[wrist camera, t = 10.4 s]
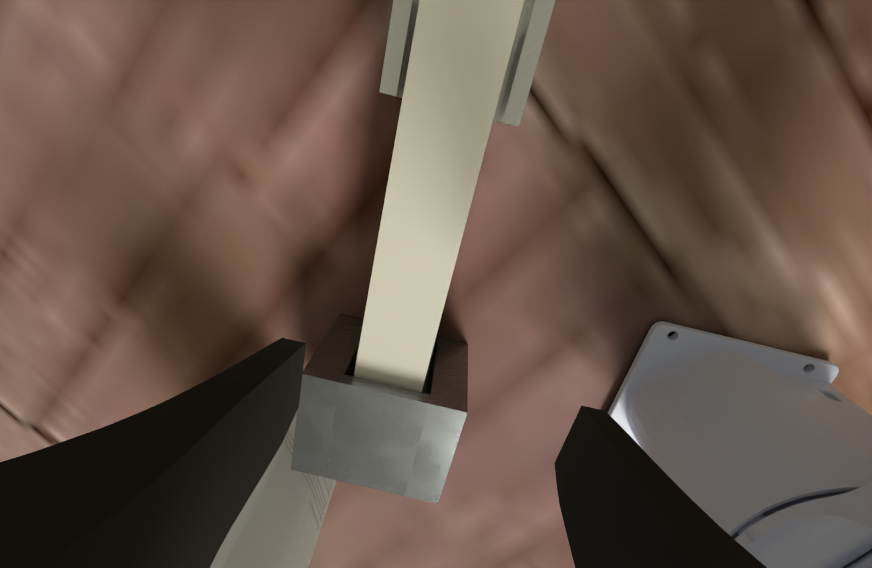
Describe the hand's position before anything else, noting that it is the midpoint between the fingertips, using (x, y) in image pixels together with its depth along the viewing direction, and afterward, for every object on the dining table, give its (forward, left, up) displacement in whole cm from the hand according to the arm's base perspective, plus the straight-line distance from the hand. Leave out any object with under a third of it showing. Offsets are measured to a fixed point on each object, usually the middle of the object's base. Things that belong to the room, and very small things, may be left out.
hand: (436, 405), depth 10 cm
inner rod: (+2, -2, -10) cm, 11 cm away
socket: (+2, +7, -10) cm, 13 cm away
